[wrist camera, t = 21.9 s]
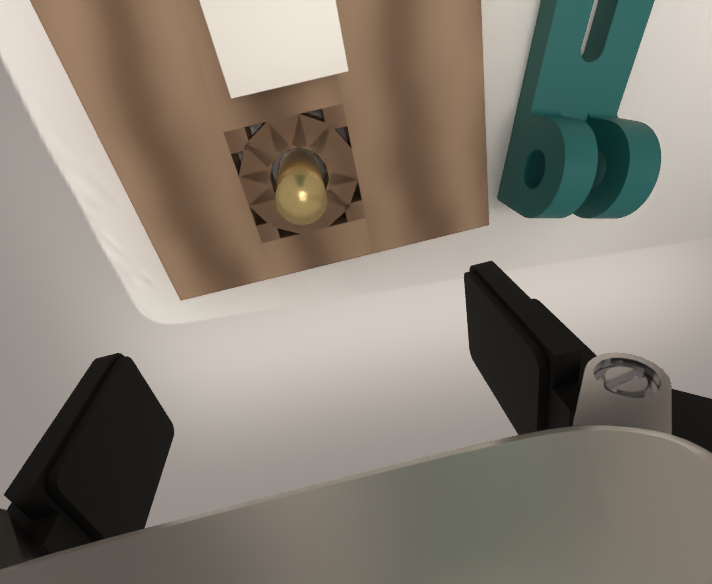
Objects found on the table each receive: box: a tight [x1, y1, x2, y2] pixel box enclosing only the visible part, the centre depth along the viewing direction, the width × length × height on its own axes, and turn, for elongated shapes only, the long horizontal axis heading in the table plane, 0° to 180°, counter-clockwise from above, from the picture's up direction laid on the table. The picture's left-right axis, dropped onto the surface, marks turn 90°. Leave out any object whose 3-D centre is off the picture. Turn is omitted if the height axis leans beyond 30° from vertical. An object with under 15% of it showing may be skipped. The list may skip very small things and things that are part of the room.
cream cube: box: [199, 0, 348, 99], centre depth 21 cm, size 6×6×6 cm
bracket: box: [497, 0, 661, 218], centre depth 27 cm, size 18×7×8 cm, turn 177°
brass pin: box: [275, 149, 327, 225], centre depth 27 cm, size 3×3×8 cm
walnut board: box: [30, 0, 489, 300], centre depth 28 cm, size 25×20×2 cm
